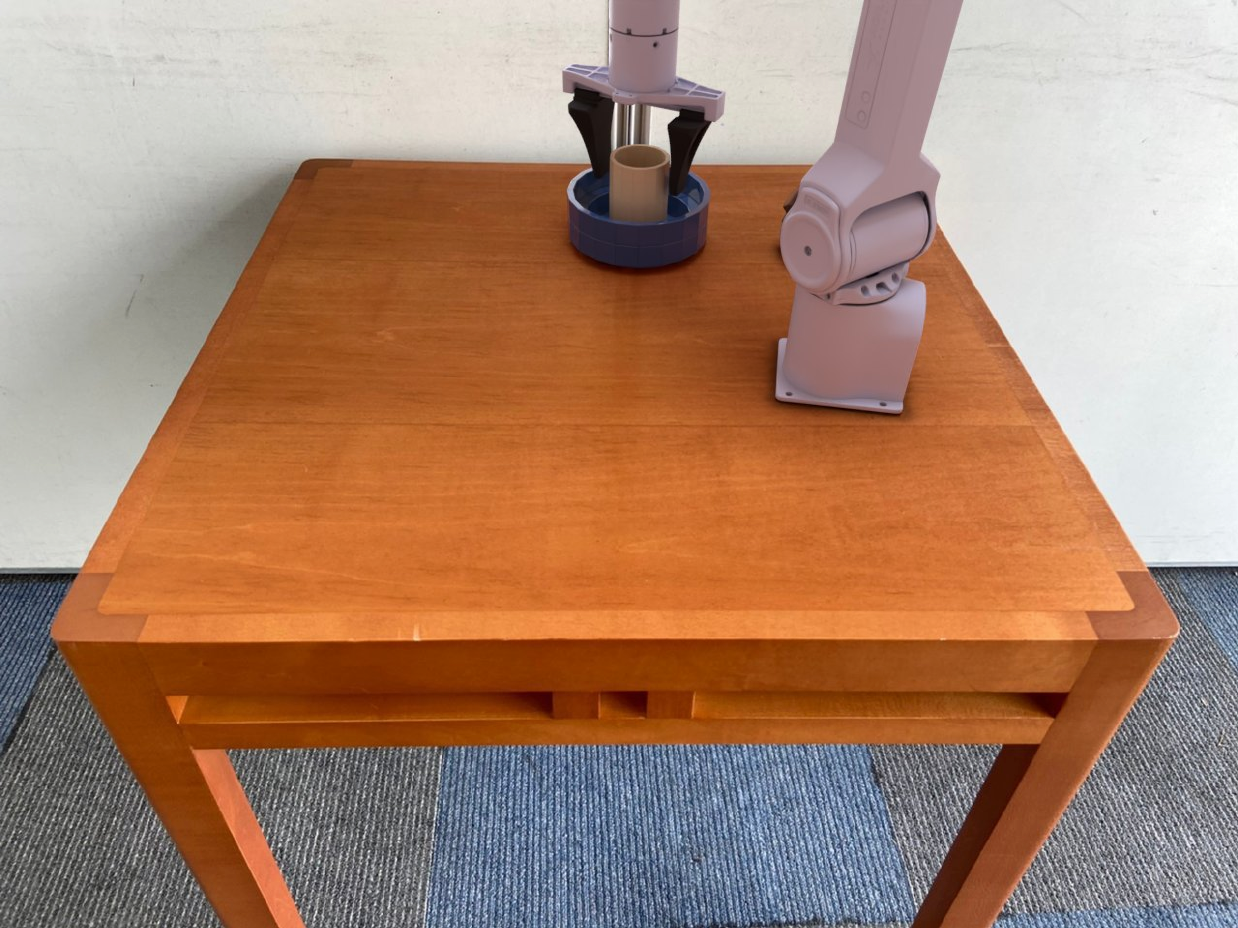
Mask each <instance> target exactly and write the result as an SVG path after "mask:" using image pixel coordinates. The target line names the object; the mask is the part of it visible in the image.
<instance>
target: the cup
mask: <svg viewBox="0 0 1238 928" xmlns="http://www.w3.org/2000/svg"><path fill="white" fill-rule="evenodd" d="M670 165H671V154H669V152H668V151H667V150H666V149H664V148H661V147H659V146H657V145H656V146H655V145H651V144H643V143H640V144H639V143H633V144H626V145H622V146H620V147H617V148H615V149H614V150H612V151H611V154H610V210H609V218H611V219H615V220H619V221H629V222H654V221H664V220H667V206H668V187H669V169H670Z"/></svg>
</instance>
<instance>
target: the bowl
mask: <svg viewBox="0 0 1238 928" xmlns="http://www.w3.org/2000/svg"><path fill="white" fill-rule="evenodd" d="M670 167H671V164H670ZM669 179H670V169H669ZM711 194H712V192H711V190H710V188H709V186H708V184H707V182H706V181H705V180H703V178H702V177H700V176H699V175H697V174H696V173H695V172H692V171H691V170H689V173H688V177H687V181H686V185H685V189H684V190H683V191H682V192H681V193H680V194H679V195H678V196H672V195H670V194H669V187H668V206H667V220H664V221H654V222H629V221H619V220H615V219H611V218H609V210H610V171H609V172H608V173H607V174H606V175H604V176H603V177H602V178H601V179H598V178H594V174H593V170H592V167H590V168H587V169H584V170H582V171H581V172H580V173H579V174H577V175H576V176H575V177H573V178H572V179H571V180H570V182H569V184H568V187H567V189H566V211H567V213H566V214H567V215H566V216H567V233H568V237H569V241H570V244H572V245H573V246H574V247H575V248H576V249H577V250H578V251H579V252H580V253H582V254H583V255H585V256H587V257H589V258H591V259H593V260H595V261H598V262H601V263H602V262H603V263H604V264H605V263H606V264H609V265H612V266H616V267H620V268H621V267H622V268H628V269H649V268H658V267H663V266H667V265H671V264H675V263H679V262H683V261H684V260H687V259H688V258H690V257H691V256H694V255H695V254H697V253H698V252H699V251H700V250H701V249H702V248H703V246H704V245H706V241H707V237H708V229H709V217H710V207H711Z"/></svg>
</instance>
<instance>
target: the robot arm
mask: <svg viewBox="0 0 1238 928" xmlns="http://www.w3.org/2000/svg"><path fill="white" fill-rule="evenodd" d="M963 4H964V0H863V2H862V7H861V12H860V16H859V21H858V25H857V31H856V36H855V40H854V44H853V49H852V54H851V59H850V64H849V68H848V73H847V77H846V83H845V87H844V92H843V96H842V102H841V106H840V110H839V115H838V120H837V124H836V130H835V134H834V139H833V141H832V144H831V145H830V146H829V147H828V148H827V150H826V151H825V152H824V153H823V154H822V155H821V156H820V158H818V160H817V161H816V162H814V164H813V165H812V166H811V167H810V168H809V170H807V172H806V173H805V174H804V175H803V176H802V178H801V180H800V182H799V186H800V187H799V186H798V187H799V192H798V196H797V199H796V202H795V204H794V205H793V207H792V208H791V209H790V211H789V212H788V213H787V215H786V217H785V218H784V217H783V218H784V221H783V224H782V223H781V225H782V227H781V226H780V229H781V233H780V232H779V242H780V243H779V244H780V253H781V257H782V260H783V263H784V266H785V268H786V270H787V272H788V273H789V276H790V279H791V280H792V281H794V282H795V283H796V284H795V290H794V295H793V302H792V308H791V312H790V313H791V314H790V320H789V326H788V331H787V337H782V338H780V339H779V340H778V344H777V361H776V376H775V377H776V379H775V396H774V397H775V399H777V400H778V401H780V402H788V403H797V404H804V405H805V404H806V405H814V406H815V405H816V406H823V407H834V408H842V409H851V410H858V411H859V410H860V411H868V412H869V411H870V412H879V413H888V414H895V415H897V414H901V413H902V412H903V410H904V398H905V396H906V392H907V388H908V384H909V382H910V379H911V374H912V371H913V368H914V364H915V361H916V358H917V353H918V350H919V346H920V343H921V339H922V336H923V335H922V334H923V330H924V324H925V319H926V311H927V289H926V284H925V283H924V282H923V281H920V280H916V279H912V278H909V277H907V276H908V271H909V267H910V264H911V261H913V260H916V259H918V258H920V257H922V256H923V255H924V254H925V253H926V252H927V251H928V250H929V248H930V247H931V246H932V243H933V242H934V239H935V236H936V233H937V227H938V225H937V224H938V223H937V222H938V217H937V208H936V196H937V190H938V187H939V183H940V180H941V173H940V171H939V170H938V168H937V167H936V166H935V164H934V163H933V162H932V161H931V160H930V159H929V158H928V157H927V156H926V155H925V154H924V153H923V152H922V148H923V145H924V141H925V138H926V134H927V131H928V127H929V123H930V120H931V117H932V113H933V109H934V106H935V102H936V99H937V95H938V91H939V88H940V84H941V82H942V77H943V74H944V70H945V66H946V63H947V60H948V57H949V52H950V49H951V45H952V42H953V39H954V35H955V32H956V28H957V25H958V21H959V17H960V15H961V10H962V6H963ZM680 7H681V0H608V24H609V25H608V65H590V64H589V65H588V64H579V63H574V62H572V63H571V64H569V65H568V66H566V67H564V68H563V69H562V70H561V76H562V77H561V78H562V93H565V94H571V95H572V94H573V96H572V100H571V101H570V102H568V104H567V112H568V115H569V117H570V118H571V119H572V121H573V122H574V124H575V126H576V128H577V129H578V131H579V133H580V136H581V138H582V140H583V143H584V146H585V149H586V152H587V155H588V158H589V162H590V165H591V168H592V170H593V174H594V178H598V179H601V178H602V177H603V176H604V175H606V174H607V173H608V172H609V171H610V154H611V152H612V129H613V119H614V110H615V105H616V104H621V105H626V106H634V105H636V104H637V105H641V106H648V107H653V108H656V109H663V110H667V111H673V112H677V113H678V116H675V117H674V118H673V119H672V120H671V121H670V122H668V123H667V128H666V129H667V135H668V141H669V149H670V150H669V151H670V165H671V167H670V179H669V194H670V195H672V196H678V195H679V194H680V193H681V192H682V191H683V190H684V189H685V185H686V181H687V177H688V173H689V171H691V170H690V169H691V167H692V164H693V161H694V158H695V156H696V153H697V151H698V149H699V147H700V145H701V143H702V141H703V139H704V137H705V135H706V133H707V132H708V130H709V128H710V126H711V125H712V123H716V122H717V121H718V120H720V119H721V117H723V115H724V114H725V105H726V104H725V103H726V91H725V90H720V89H715V88H711V87H708V86H706V85H703V84H700V83H697V82H694V81H691V80H689V79H687V78H683V77H681V76H678V75H677V67H678V66H677V65H678V64H677V63H678V46H679V45H678V44H679V29H680V27H679V25H680V23H679V22H680Z"/></svg>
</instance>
